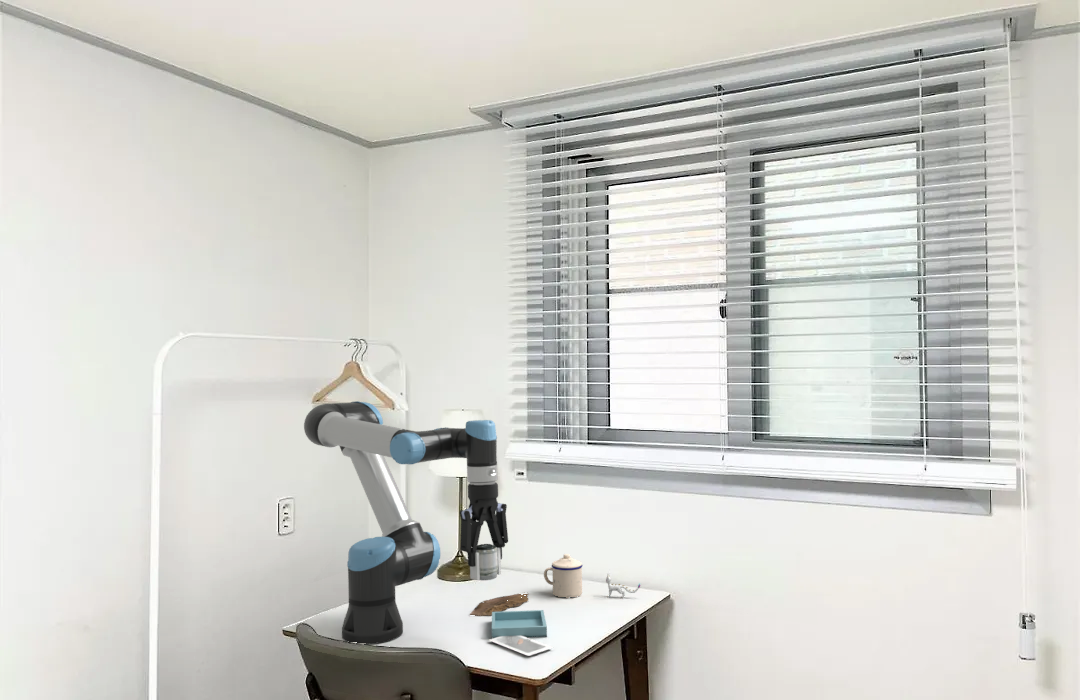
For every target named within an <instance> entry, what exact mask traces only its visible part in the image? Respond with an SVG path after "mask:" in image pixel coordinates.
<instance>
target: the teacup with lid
mask: <svg viewBox="0 0 1080 700" xmlns="http://www.w3.org/2000/svg"><path fill="white" fill-rule="evenodd" d="M582 567H583V562H581V561H580V560H578V559H575V558H573V557H572V556H571V555H570V553H564V554H563V557H560V558H559V559H557V560H555V561H553V562H552V563H551V567H548V568H546V569H544V571H543V577H544V578H543V579H544V580H545V582H546V584H548V585H551V586H552V594H553V596H554V595H555V596H554V597H556V596H558V597H557V598H560V597H566V598H565V599H570V598H569V597H575V598H578V597H581V596H582V595H581V594H583V568H582ZM548 571H552V581H551V580H550V579H549V577H548ZM577 596H578V597H577Z"/></svg>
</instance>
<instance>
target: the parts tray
mask: <svg viewBox="0 0 1080 700" xmlns="http://www.w3.org/2000/svg"><path fill="white" fill-rule="evenodd" d="M518 635H521V636H524V637H530V638H546V637H548V628H547V622H546V616H545V612H544V609H537V610H534V609H533V610H510V611H507V610H504V611H501V612H492V616H491V639H492V638H496V637H500V636H518Z"/></svg>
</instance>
